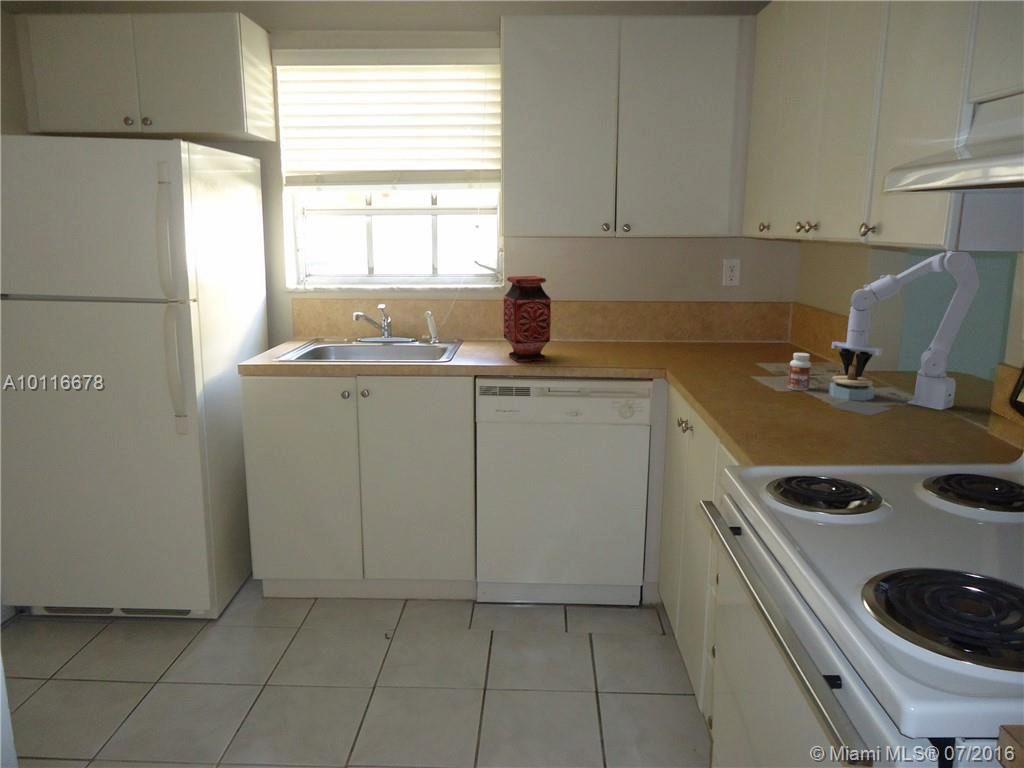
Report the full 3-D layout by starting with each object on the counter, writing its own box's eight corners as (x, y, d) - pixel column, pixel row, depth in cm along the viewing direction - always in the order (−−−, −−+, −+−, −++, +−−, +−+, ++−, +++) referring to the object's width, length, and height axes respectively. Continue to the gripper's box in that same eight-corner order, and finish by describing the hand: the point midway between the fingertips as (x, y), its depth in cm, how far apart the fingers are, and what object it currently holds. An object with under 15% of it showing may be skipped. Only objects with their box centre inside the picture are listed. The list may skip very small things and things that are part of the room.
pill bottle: (787, 390, 229) (790, 354, 226) (787, 385, 234) (791, 351, 232) (808, 392, 227) (812, 356, 224) (808, 387, 232) (812, 352, 230)
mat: (892, 410, 207) (892, 408, 206) (869, 416, 200) (869, 415, 199) (851, 401, 216) (851, 399, 216) (828, 407, 209) (828, 406, 209)
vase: (537, 354, 284) (538, 275, 277) (550, 361, 271) (551, 278, 264) (503, 356, 280) (503, 276, 273) (514, 363, 267) (514, 279, 260)
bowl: (879, 397, 220) (881, 386, 219) (859, 403, 213) (860, 391, 213) (843, 390, 229) (844, 379, 228) (822, 395, 222) (823, 384, 222)
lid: (880, 386, 215) (882, 369, 214) (844, 385, 214) (846, 368, 213) (858, 378, 226) (860, 362, 225) (824, 378, 225) (826, 361, 224)
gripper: (890, 332, 213) (884, 378, 216) (842, 326, 225) (837, 369, 228) (877, 334, 209) (871, 381, 212) (829, 328, 220) (824, 372, 224)
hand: (853, 375), depth 220 cm, fingers closed on lid, 3 cm apart
